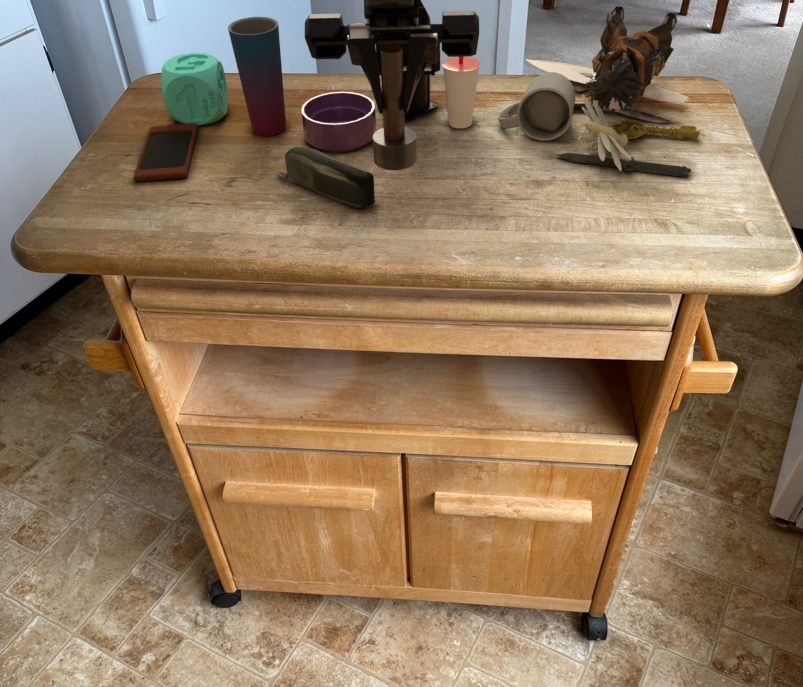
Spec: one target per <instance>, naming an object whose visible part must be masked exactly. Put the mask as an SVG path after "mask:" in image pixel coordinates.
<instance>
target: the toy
mask: <svg viewBox="0 0 803 687" xmlns="http://www.w3.org/2000/svg"><path fill="white" fill-rule="evenodd" d="M586 96H587V95H585V94H581V98H582V101H583V103H585V105H586V107H587V109H588V110H586V109H585V108H584V107H582V110H581V111H583V113H584V114H585V116H586V117H587V118H588V120H589V121H588V122H580V123H579V124H577V125H576V126H575V125H572V129H577V130H578V129H579V128H581V127H582V126H584V127H585V129H584V131H583V133H582V134H578V137H577V140H578V141H580V140H581V138H582V141H585V140H586V138H587V137H590V136H591V135H593V134H594V135H593V137H592V142H588V143H587V144H586V145H585V146H584V148H585V149H586V150H587V149H588V147H589V148H592V147H593V146H594V144H596V143H597V145H596V146H595V147H593V148H592V149H590V150H589V151H588V152H589V154H592V152H593V151H594V150H596V149H597V151H594V152H593V155H596V154H598V156H599V158H600V160H601V161H604V160H605V157H606V151H607V152H608V153H611V158H613V160H614V163H615V165H616V166H615V167H616V168H617V169H618V171H619V172H623V170H622V167H621V162H620V159H621V158H620V157H619V154H618V151H619V152H620V153H621V154H622V155H623V156H624V157H625V158H626V159H628V161H630V160H632V159H631V157H632V156H631V155H630V154H629V153H628V152H627V151H626V150H625V148H626V146H627V144H628V142H629V140H630V139H633V138H627V135H625V134H620V135H618V131H615V130H614V129H613V128H612V126H609V125H608V123H607V120H606V118H605V115H604V112H603V110H601V108H599V107H600V106H598V101H594V100H593V102H592V104H594V107H595V109H596V110H595V111H594V110H593V108H592V106H591V105H590V104H591V102H590V100H589V99H588V97H587V98H585V97H586ZM635 125H636V124H635ZM635 125H634V126H635ZM634 126H633V127H634ZM633 127H632V128H633ZM632 128H630V127H629V129H632ZM637 128H638V127H637ZM587 130H588V132H587ZM639 130H640V129H639ZM629 131H630V130H628V132H629ZM586 132H587V133H586ZM640 133H641V131H640ZM627 134H628V133H627ZM639 135H640V134H639ZM596 137H597V139H596ZM637 138H638V137H636V138H635V139H637ZM595 139H596V140H595ZM617 150H618V151H617Z"/></svg>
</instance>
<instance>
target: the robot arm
mask: <svg viewBox="0 0 803 687" xmlns="http://www.w3.org/2000/svg"><path fill="white" fill-rule="evenodd" d="M441 15H442V16H441V23H432V21H431V17H430V15H429V12H428V11H427V9H426V7H425V6H424V3H423V1H422V0H363V16H364V20H366V23H348V24H347V25H345V23H344V20H343V16H342V13H310V14H309V15H308V16H307V18H306V19H305V21H304V40H305V42H306V45H307V48H308V51H309V53H310V57H311V58H312V59H315V60H340V59H341V58H343V57H344V55H345V54H346V53H347V50H348V54H349V58H350V62H351V64H352V65H353V66H359V67H361V70H362V71H363V73H364V75H365V77H366V79H367V81H368V83H369V87H370V89H371V92H372V96H373V98H374V101H375V104H376V108H377V110H378V113H379V114H383V98H382V83H381V61H380V48H381V47H383V46H385V45H399V46H401V47H402V48H403V80H404V95H403V110H404V120H405V122H411V121H412V120H414V119H418V118H419V117H421V116H424V115H426V114H428V113H431V112H432V111H435V110H437V109H438V104H437V103H434V102H431V76H432V77H433V76H436V73H437V72H440V71H441V52H443V53H444V54H445V55H446V56H447V57H448V58H453V57H473V56H476V55H477V52H478V51H477V50H478V45H479V39H480V17H479V15H478V14H477V13H476V12H475V11H474V10H444V11H443V10H442V13H441Z"/></svg>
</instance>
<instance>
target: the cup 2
mask: <svg viewBox="0 0 803 687" xmlns="http://www.w3.org/2000/svg"><path fill="white" fill-rule="evenodd" d="M441 65H442V69H443V79H444V80H443V81H444V90H445V99H446V100H445V101H446V109H447V110H446V112H447V120H448V125H449V126H450V127H451V128H454V129H467V128H469V127H471V126H472V124H473V117H474V109H475V103H476V97H477V96H476V95H477V87H478V80H479V79H478V78H479V72H480V71H479V70H480V66H481V61H480V60H479V59H477V58H474V57H472V56H468V57H448V58H447V59H445V60H443V61H442V63H441Z"/></svg>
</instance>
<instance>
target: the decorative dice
mask: <svg viewBox="0 0 803 687" xmlns="http://www.w3.org/2000/svg"><path fill="white" fill-rule="evenodd" d="M160 73H161V75H160V84H161V92H162V98H163V102H164V106H165V109H166V111H167V113H168V115H169V116H170V117H171V118H173V119H174V120H175V121H177V122H178V123H180V124H192V123H194V124H197V126H198V127H199V126H206V125H210V124H213V123H216V122H218V121H220V120H222V119H223V118H224V117H225V116H226V114H227V113H228V109H229V107H228V106H229V93H228V92H229V91H228V83H227V78H226V72H225V68H224V66H223V64H222V62H221V60H219V59H217V57H215V56H214V55H212V54H209V53H205V52H190V53H189V52H188V53H183V54H178V55H175V56H173V57H171V58H169V59H168V60H166V61H165V62H164V63H163V65H162V68H161V72H160Z"/></svg>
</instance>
